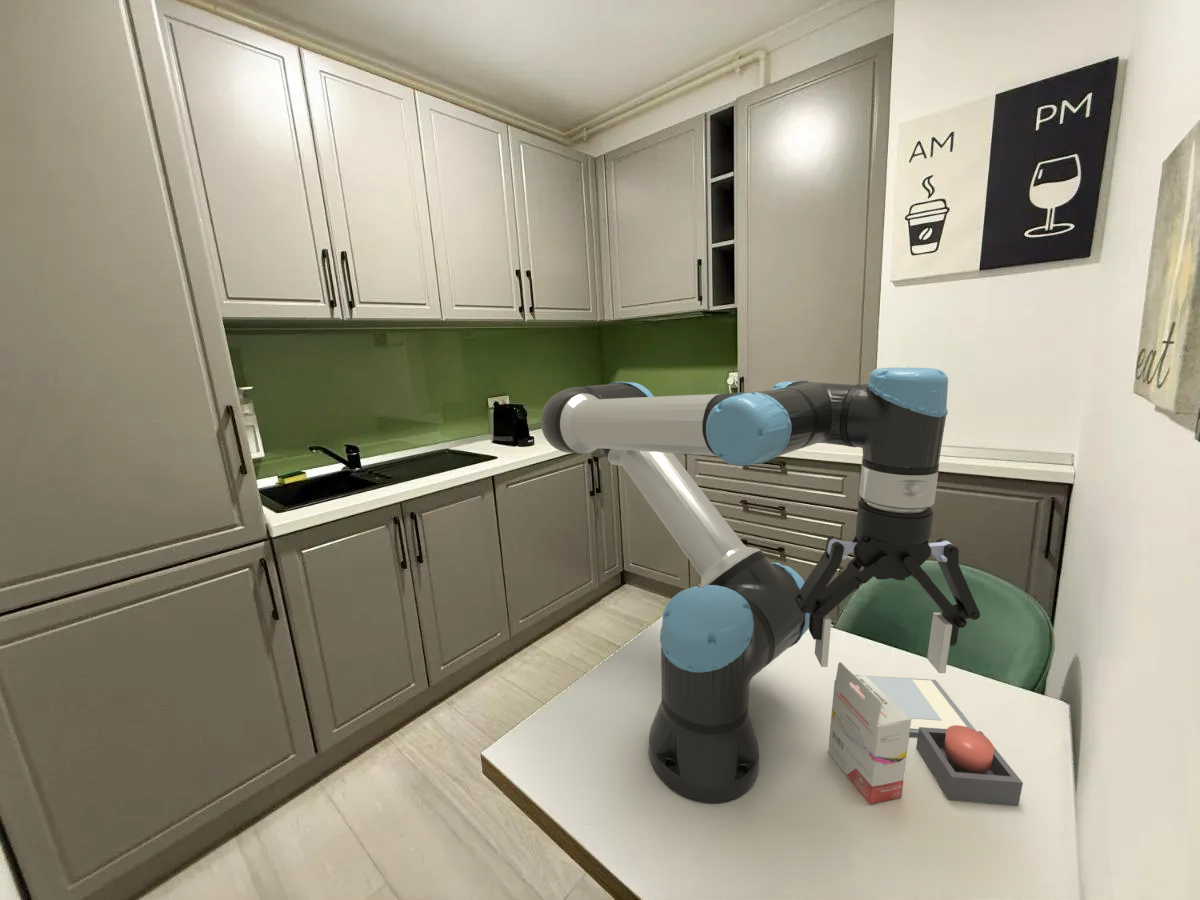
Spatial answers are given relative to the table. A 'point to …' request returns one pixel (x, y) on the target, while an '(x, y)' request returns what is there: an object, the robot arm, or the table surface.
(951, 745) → the button
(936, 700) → the board
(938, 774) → the button housing
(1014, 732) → the table surface
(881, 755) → the ink cartridge box
